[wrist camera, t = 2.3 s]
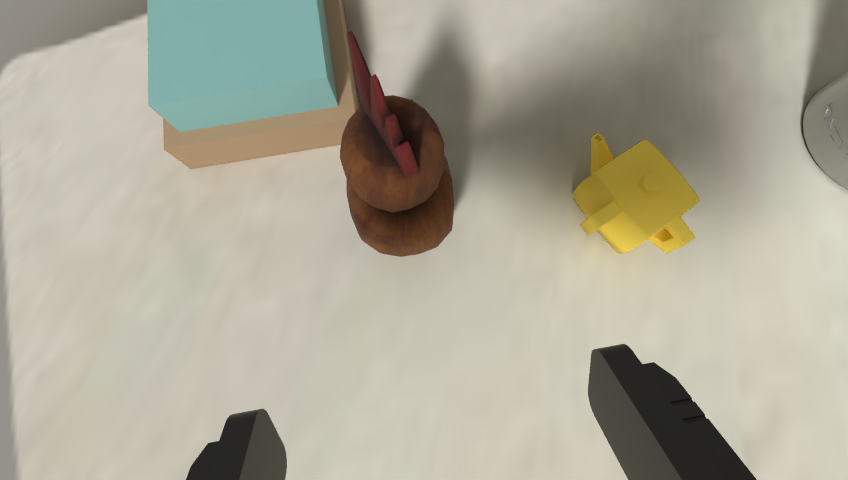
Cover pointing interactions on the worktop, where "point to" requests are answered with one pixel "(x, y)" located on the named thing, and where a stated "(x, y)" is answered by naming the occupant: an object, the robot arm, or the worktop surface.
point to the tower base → (249, 77)
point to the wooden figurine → (394, 169)
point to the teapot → (635, 198)
